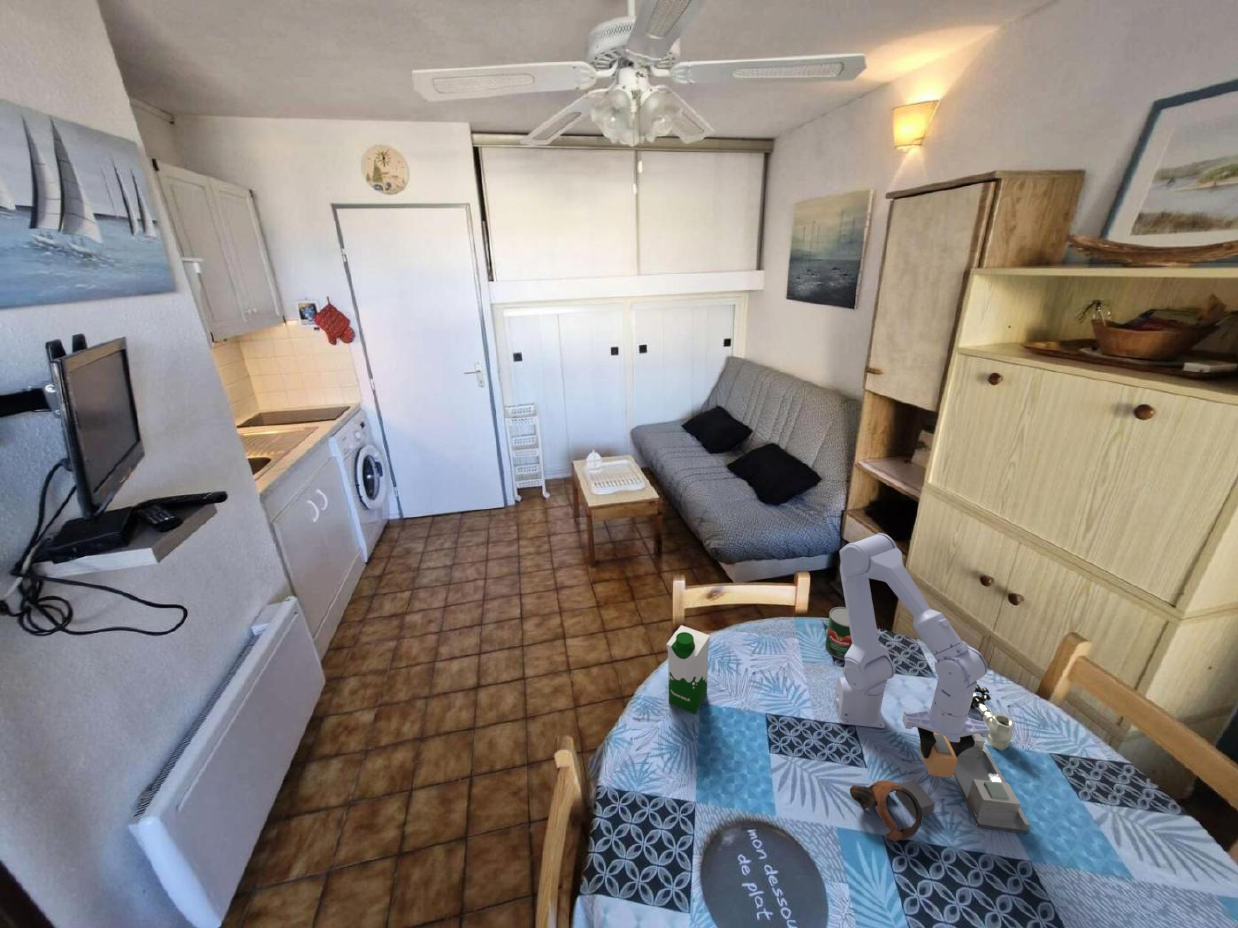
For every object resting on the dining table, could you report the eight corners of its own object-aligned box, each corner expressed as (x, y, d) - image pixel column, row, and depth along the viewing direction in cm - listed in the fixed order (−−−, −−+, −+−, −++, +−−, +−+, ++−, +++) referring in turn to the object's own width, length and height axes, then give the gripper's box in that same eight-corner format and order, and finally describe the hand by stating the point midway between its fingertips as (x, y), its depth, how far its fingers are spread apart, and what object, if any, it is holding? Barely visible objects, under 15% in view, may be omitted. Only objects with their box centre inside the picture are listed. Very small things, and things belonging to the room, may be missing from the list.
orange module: (930, 774, 99) (935, 755, 97) (918, 747, 104) (923, 728, 102) (952, 777, 98) (958, 758, 96) (939, 750, 104) (945, 731, 102)
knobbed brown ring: (901, 792, 100) (924, 786, 94) (905, 849, 94) (930, 848, 88) (840, 772, 101) (859, 765, 95) (840, 827, 95) (861, 824, 89)
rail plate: (977, 827, 93) (985, 805, 91) (934, 734, 111) (939, 714, 109) (1026, 833, 91) (1035, 811, 89) (974, 738, 110) (980, 718, 107)
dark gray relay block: (914, 819, 95) (917, 808, 94) (894, 794, 99) (897, 784, 98) (932, 813, 96) (935, 803, 94) (912, 789, 100) (914, 778, 99)
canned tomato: (828, 658, 133) (833, 624, 129) (822, 638, 141) (826, 605, 137) (860, 661, 132) (865, 627, 128) (852, 640, 139) (857, 607, 135)
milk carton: (663, 703, 122) (662, 637, 115) (680, 679, 129) (680, 615, 122) (697, 719, 117) (698, 651, 110) (712, 692, 124) (714, 627, 117)
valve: (1019, 752, 106) (985, 706, 117) (1027, 729, 104) (991, 684, 115) (986, 751, 107) (955, 705, 118) (993, 728, 105) (961, 683, 116)
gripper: (917, 717, 93) (904, 768, 98) (1004, 726, 91) (986, 778, 96) (903, 687, 100) (892, 737, 105) (985, 695, 97) (969, 746, 102)
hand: (936, 755), depth 101 cm, fingers closed on orange module, 4 cm apart
